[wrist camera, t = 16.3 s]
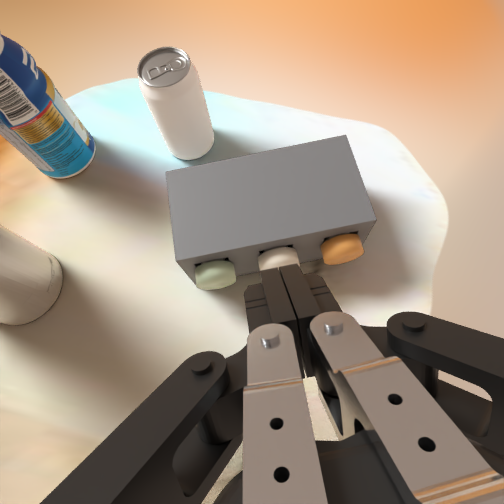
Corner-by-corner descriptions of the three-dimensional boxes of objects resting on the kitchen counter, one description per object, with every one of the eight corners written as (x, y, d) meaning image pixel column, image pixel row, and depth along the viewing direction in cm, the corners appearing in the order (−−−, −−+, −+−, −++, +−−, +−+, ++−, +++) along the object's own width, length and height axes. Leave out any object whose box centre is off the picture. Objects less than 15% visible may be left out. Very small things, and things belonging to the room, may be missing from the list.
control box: (195, 284, 40) (175, 260, 32) (185, 208, 44) (165, 171, 36) (358, 251, 40) (376, 219, 32) (334, 178, 43) (345, 134, 36)
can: (222, 150, 46) (203, 75, 35) (176, 169, 46) (143, 98, 35) (205, 116, 49) (182, 35, 38) (161, 133, 48) (125, 56, 37)
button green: (201, 292, 37) (192, 281, 33) (195, 250, 39) (186, 235, 35) (238, 284, 37) (233, 273, 33) (230, 242, 39) (225, 227, 35)
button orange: (322, 267, 37) (326, 254, 33) (310, 226, 39) (313, 209, 35) (359, 259, 37) (368, 245, 33) (346, 219, 39) (353, 201, 35)
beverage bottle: (30, 179, 47) (-134, 43, 28) (50, 129, 50) (-87, -24, 31) (88, 183, 46) (-42, 45, 28) (105, 131, 49) (-2, -25, 30)
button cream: (261, 279, 37) (259, 267, 33) (253, 238, 39) (250, 222, 35) (298, 272, 37) (300, 259, 33) (288, 230, 39) (289, 214, 35)
